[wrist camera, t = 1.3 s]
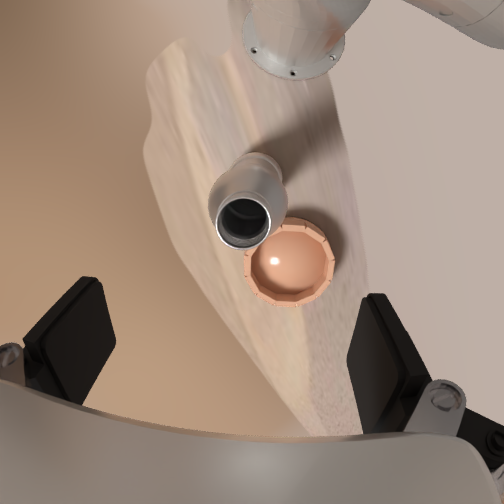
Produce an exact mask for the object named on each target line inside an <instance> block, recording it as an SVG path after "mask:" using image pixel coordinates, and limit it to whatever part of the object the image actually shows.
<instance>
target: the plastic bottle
mask: <svg viewBox="0 0 504 504" xmlns="http://www.w3.org/2000/svg"><path fill="white" fill-rule="evenodd" d="M282 180H283V177H282V171H281V168H280V166H279V165H278V163H277V162H276V161H275V160H274V159H273V158H272V157H270V156H269V155H266V154H264V153H259V152H253V153H247V154H245V155H242V156H241V157H239V158H238V159H237V160H236V161H235V162H234V163H233V164H232V165H231V167H230V169H229V170H228V171H227V172H225V173H224V174H222V175H221V176H220V177H219V178H218V179H217V181H216V182H215V184H214V185H213V187H212V189H211V191H210V194H209V199H208V210H209V215H210V218H211V220H212V223H213V225H214V226H215V228H216V231H217V234H218V236H219V238H220V239H221V240H222V241H223V242H224V243H225V244H226V245H227V246H229V247H231V248H233V249H237V250H249V249H252V248H255V247H257V246H259V245H260V244H261V243H262V242H264V240H265V239H266V238H267V237H269V236H270V235H272V234H273V233H274V232H275V231H276V230H277V229H278V228H279V227H280V225H281V224H282V222H283V221H284V219H285V216H286V213H287V209H288V197H287V192H286V189H285V187H284V185H283V183H282Z"/></svg>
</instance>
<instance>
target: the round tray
mask: <svg viewBox="0 0 504 504" xmlns="http://www.w3.org/2000/svg"><path fill="white" fill-rule="evenodd" d="M334 259H335V258H334V256H333V253H332V250H331V246H330V244H329V242H328V240H327V238H326V236H325V235H324V233H323V232H322V231H321V230H320V229H319V228H318V227H317V226H316V225H314V224H313V223H311V222H309V221H307V220H305V219H301V218H297V217H285V219H284V221H283V222H282V224H281V225H280V227H279V228H278V229H277V230H276V231H275V232H274V233H273V234H272V235H270V236H269V237H267V238H266V239H265V240H264V242H262V243H261V244H260V245H259V246H257V247H255V248H252V249H249V250H245V256H244V266H245V267H244V276H245V279H246V281H247V282H248V284H249V286H250V287H251V289H252V291H253V292H254V294H256V296H257V297H259V298H261V299H263V300H265V301H266V302H268V303H270V304H272V305H274V304H275V306H286V307H296V304H297V306H300V305H303V304H305V303H307V302H310V301H312V300H314V299H317V298H316V296H317V297H319V296H320V295H321V294H322V292H323V291H324V290H325V289H326V288H327V286H328V285H329V284H330V283H331V281H330V280H332V277H333V271H334V265H335V260H334Z"/></svg>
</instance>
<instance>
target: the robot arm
mask: <svg viewBox="0 0 504 504" xmlns="http://www.w3.org/2000/svg"><path fill="white" fill-rule="evenodd" d="M250 1H251V8H252V9H251V11H250V12H249V13H248V15H247V16H246V19H245V21H244V24H243V30H242V34H243V42H244V46H245V48H246V51H247V53H248V54H249V56H250V57H251V59H252V60H253V61H254V62H255V63H256V64H257V65H258V66H259V67H260V68H262V69H263V70H264V71H266V72H267V73H270V74H272V75H274V76H276V77H280V78H283V79H289V80H307V79H311V78H315V77H317V76H320V75H322V74H324V73H325V72H327V71H328V70H330V69H331V68H332V67H333V66H334V65H335V64H336V63H337V62H338V61H339V59H340V57H341V55H342V53H343V50H344V45H345V35H344V34H345V32H346V31H347V30H348V29H349V28H350V27H351V25H352V24H353V23H354V22H355V21H356V20H357V19H358V17H359V16H360V15H361V14H362V13H363V11H364V10H365V9H366V8H367V6H368V4H369V3H370V0H250ZM404 1H406V2H408V3H410V4H412V5H414V6H416V7H418V8H420V9H422V10H424V11H425V12H427V13H429V14H431V15H433V16H435V17H436V18H438V19H440V20H442V21H443V22H445V23H447V24H449V25H451V26H452V27H454V28H455V29H457V30H459V31H460V32H462V33H464V34H466V35H467V36H469V37H470V38H472V39H474V40H476V41H478V42H480V43H482V44H484V45H487V46H489V47H493V48H497V49H504V0H404ZM254 50H255V51H256V53H252V51H254ZM330 57H333V60H331V59H330ZM292 72H293V73H295V75H294V76H292V75H291V73H292ZM23 342H24V344H25V347H24V348H22V347H21V346H20V345H19V344H17V343H12V342H11V343H6V344H4V345H1V346H0V504H504V426H503V425H501V424H498V423H496V422H494V421H492V420H490V419H488V418H486V417H484V416H482V415H480V414H478V413H476V412H474V411H472V410H470V409H467V408H466V397H465V394H464V392H463V390H462V389H461V388H460V387H459V386H458V385H457V384H455V383H453V382H451V381H448V380H441V379H440V380H439V379H438V380H434V381H432V379H431V377H430V375H429V372H428V371H427V368H426V366H425V365H424V362H423V361H422V359H421V357H420V355H419V353H418V351H417V349H416V347H415V345H414V344H413V341H412V340H411V338H410V336H409V334H408V332H407V331H406V330H405V328H404V326H403V325H402V323H401V321H400V319H399V317H398V316H397V314H396V312H395V310H394V309H393V307H392V305H391V303H390V302H389V300H388V298H387V296H386V295H385V294H383V293H381V294H380V293H369V294H368V295H367V297H364V298H363V299H362V301H361V305H360V309H359V313H358V317H357V321H356V325H355V329H354V333H353V336H352V340H351V343H350V347H349V350H348V354H347V367H348V371H349V375H350V379H351V383H352V387H353V391H354V395H355V399H356V403H357V408H358V412H359V416H360V421H361V425H362V430H363V434H361V435H347V436H322V437H269V436H249V435H248V436H247V435H236V434H224V433H214V432H206V431H198V430H190V429H184V428H177V427H171V426H165V425H159V424H154V423H149V422H144V421H140V420H135V419H131V418H126V417H122V416H118V415H114V414H110V413H106V412H102V411H99V410H95V409H92V408H88V407H85V406H82V404H83V402H84V400H85V399H86V397H87V395H88V393H89V391H90V389H91V388H92V386H93V384H94V382H95V381H96V379H97V377H98V375H99V373H100V372H101V370H102V368H103V366H104V365H105V363H106V361H107V359H108V358H109V356H110V354H111V353H112V351H113V349H114V348H115V345H116V337H115V334H114V330H113V326H112V323H111V319H110V315H109V312H108V307H107V303H106V299H105V295H104V290H103V286H102V284H101V282H99V281H98V279H97V278H95V277H86V276H82V277H81V278H80V279H79V280H78V281H77V282H76V283H75V284H74V285H73V286H72V287H71V288H70V289H69V290H68V291H67V292H66V293H65V294H64V295H63V296H62V297H61V298H60V299H59V300H58V301H57V302H56V303H55V304H54V305H53V306H52V307H51V308H50V309H49V310H48V312H47V313H46V314H45V315H44V316H43V317H42V318H41V319H40V320H39V321H38V322H37V324H35V326H34V327H33V328H32V329H31V330H30V331H29V332H28V333H27V334H26V336H25V337H24V338H23Z"/></svg>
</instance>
